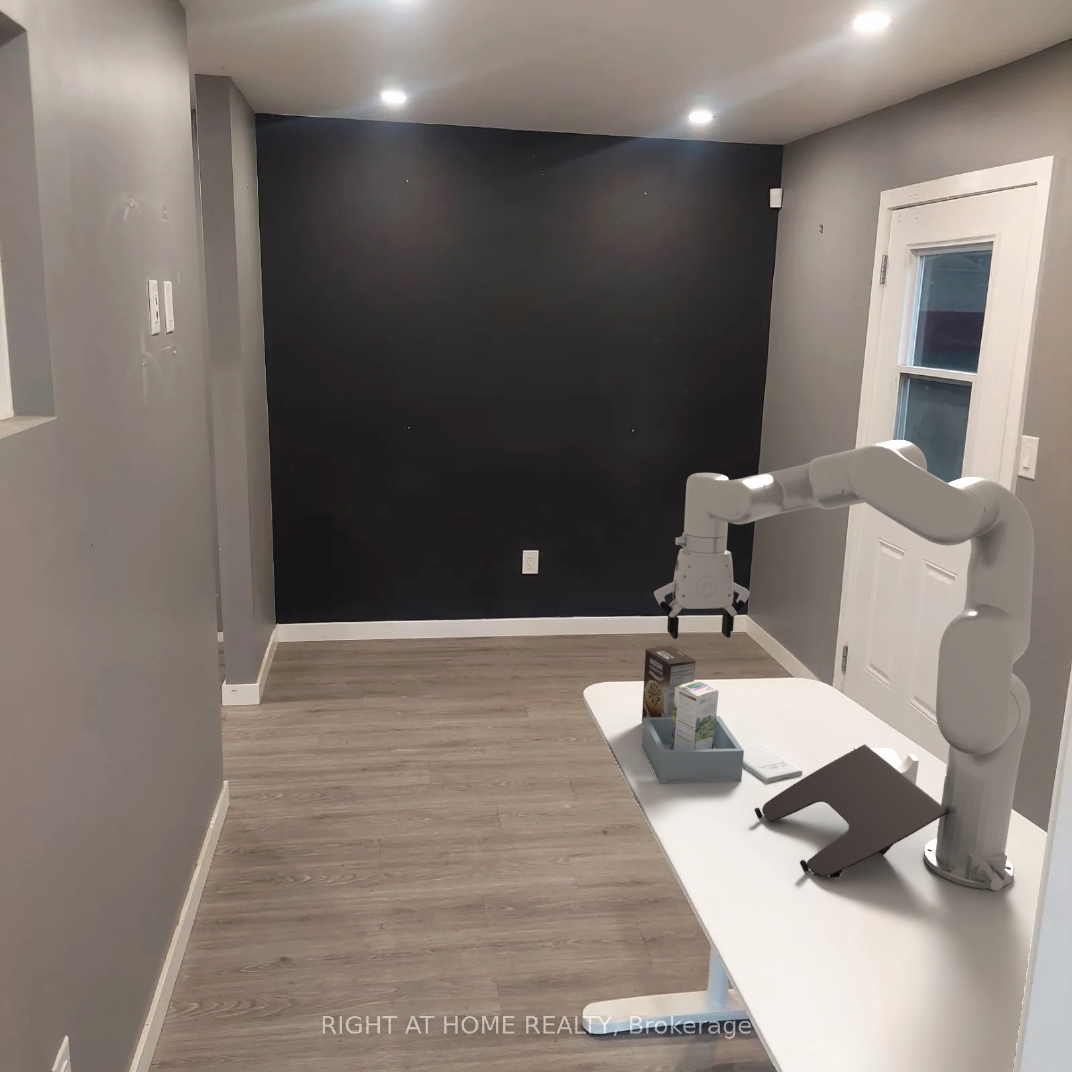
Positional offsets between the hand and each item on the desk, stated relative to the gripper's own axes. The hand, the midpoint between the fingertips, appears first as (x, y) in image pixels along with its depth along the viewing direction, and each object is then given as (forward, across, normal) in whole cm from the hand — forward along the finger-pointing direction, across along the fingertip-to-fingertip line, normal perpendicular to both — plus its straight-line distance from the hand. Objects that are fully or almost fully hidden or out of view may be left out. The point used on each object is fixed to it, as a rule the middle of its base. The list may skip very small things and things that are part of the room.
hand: (699, 635), depth 170 cm
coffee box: (+25, -2, +16) cm, 30 cm away
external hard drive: (+26, +13, 0) cm, 29 cm away
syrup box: (+24, 0, 0) cm, 25 cm away
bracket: (+26, +33, -8) cm, 43 cm away
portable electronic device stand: (+26, +16, -27) cm, 41 cm away
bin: (+25, 0, 0) cm, 25 cm away
